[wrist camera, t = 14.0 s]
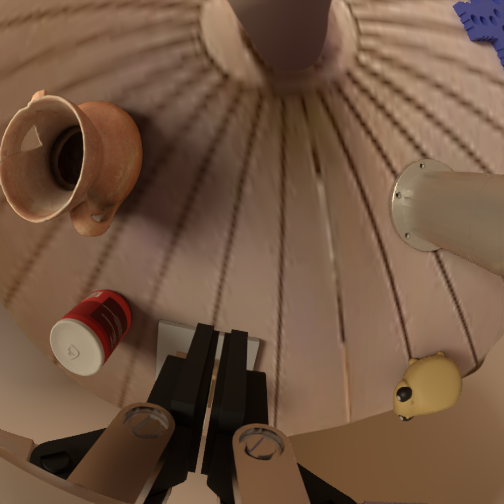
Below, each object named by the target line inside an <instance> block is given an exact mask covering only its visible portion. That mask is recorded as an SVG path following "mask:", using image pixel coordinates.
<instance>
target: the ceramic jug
mask: <svg viewBox="0 0 504 504" xmlns="http://www.w3.org/2000/svg"><path fill="white" fill-rule="evenodd" d="M46 93H47V92H46V90H42V91H39V92H37V93H35V94H34V96H33V98H32V100H31V102H29V103H28V106H27V107H25V108H23V109H21V110H19V111H18V112H17V114H16V115H15V116H14V117H13V119H12V120H11V122H10V123H9V125H8V127H7V129H6V131H5V134H4V136H3V139H2V143H1V148H0V182H1V186H2V189H3V192H4V194H5V196H6V198H7V201H8V202H9V204H10V205H11V206H12V208H13V209H14V211H15V212H16V213H18V214H19V215H20V216H21V217H22V218H24V219H26V220H28V221H31V222H36V223H40V222H45V221H48V220H51V219H54V218H56V217H58V216H60V215H61V214H63V213H64V212H66V211H67V210H69V211H70V217H71V220H72V223H73V225H74V227H75V228H76V230H77V231H78V232H79V233H80V234H82V235H84V236H89V237H91V236H92V237H95V236H99V235H102V234H104V233H105V232H106V231H107V229H108V228H109V226H110V224H111V222H112V220H113V218H114V215H115V212H116V211H117V210H118V208H119V206H120V205H121V203H122V202H123V201H124V200H125V199H126V198H127V196H128V195H129V194H130V192H131V191H132V189H133V188H134V186H135V184H136V182H137V180H138V177H139V174H140V171H141V167H142V159H143V148H142V141H141V136H140V133H139V130H138V128H137V126H136V124H135V122H134V121H133V119H132V118H131V116H130V115H129V114H128V113H127V112H126V111H124V110H123V109H121V108H120V107H118V106H117V105H115V104H112V103H109V102H104V101H92V102H87V103H84V104H81V105H78V106H77V105H75V104H74V103H72V102H71V101H69V100H67V99H65V98H63V97H60V96H54V95H47V96H46ZM34 124H35V128H36V129H35V130H36V134H37V136H38V139H39V142H40V145H38V146H37V147H34V148H32V149H29V150H24V151H21V143H22V141H23V139H24V136H25V135H26V134H27V132H28V131H29V130H30V128H31V127H32V126H33V125H34ZM102 213H103V216H102V218H101V219H100V221H99V222H98V221H95V220H94V219H93V218H92V216H91V215H98V214H102Z"/></svg>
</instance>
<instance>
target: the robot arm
mask: <svg viewBox="0 0 504 504" xmlns="http://www.w3.org/2000/svg"><path fill="white" fill-rule="evenodd" d="M420 165H421V167H420ZM396 193H397V197H396ZM389 206H390V216H391V220H392V224H393V226H394V228H395V231H396V232H397V234H398V235H399V237H400V238H401V239H402V240H403V241H404V242H405V243H406V244H408V245H409V246H411V247H413V248H415V249H417V250H421V251H434V250H438V249H440V248H443V249H445V250H447V251H449V252H451V253H453V254H456V255H458V256H460V257H462V258H464V259H466V260H468V261H470V262H472V263H474V264H476V265H478V266H480V267H482V268H484V269H486V270H488V271H490V272H492V273H494V274H497V275H500V276H504V175H500V174H488V173H473V172H454V171H453V170H452V169H451V168H449V167H448V166H447V165H446V164H444V163H442V162H440V161H437V160H434V159H423V160H418V161H415V162H412V163H411V164H409V165H408V166H406V167H405V168H404V169H403V170H402V171H401V172H400V174H399V175H398V177H397V178H396V180H395V182H394V185H393V187H392V191H391V195H390V204H389ZM405 234H406V236H405ZM219 333H220V331H215V330H214V326H211V325H206V324H201V323H198V325H197V328H196V331H195V333H194V336H193V339H192V342H191V345H190V347H189V350H188V353H187V356H186V358H181V357H177V356H172V355H167V357H166V359H165V361H164V364H163V366H162V368H161V370H160V373H159V375H158V377H157V380H156V382H155V384H154V386H153V389H152V391H151V393H150V396H149V398H148V400H147V403H143V402H139V403H133V404H130V405H128V406H126V407H124V408H123V409H122V410H121V411H120V412H119V413H118V414H117V416H116V417H115V418H114V420H113V421H112V422H111V424H110V425H109V426H108V427H107V428H104V429H100V430H96V431H92V432H88V433H84V434H80V435H76V436H72V437H67V438H62V439H58V440H53V441H48V442H45V443H42V444H40V445H38V444H35V443H34V441H33V440H32V439H29V438H25V437H22V436H19V435H15V434H12V433H10V432H7V431H4V430H1V429H0V504H166V503H167V500H168V498H169V496H170V494H171V491H172V487H173V486H176V485H178V484H180V483H182V482H184V481H185V480H186V478H187V474H188V471H189V472H194V473H195V469H196V464H197V458H198V453H199V447H200V442H201V436H202V431H203V425H204V420H205V415H206V409H207V404H208V399H209V393H210V387H211V381H212V375H213V369H214V363H215V357H216V351H217V345H218V339H219ZM247 346H248V332H244V331H238V330H233V329H232V331H231V333H226V332H225V335H224V340H223V346H222V351H221V357H220V362H219V368H218V374H217V379H216V385H215V391H214V397H213V403H212V408H211V414H210V420H209V426H208V432H207V439H206V445H205V451H204V457H203V463H202V469H201V474H205V475H208V478H207V486H208V487H209V488H210V489H211V490H212V491H213V492H214V493H215V494H217V504H360V503H356V502H355V501H354V500H353V499H351V498H350V497H349V496H346V495H345V494H344V493H342V492H340V491H339V490H337V489H336V488H334V487H332V486H331V485H329V484H328V483H326V482H325V481H323V480H322V479H320V478H319V477H317V476H316V475H314V474H313V473H311V472H310V471H308V470H307V469H306V468H304V467H303V466H301V465H300V464H298V463H297V462H296V459H295V456H294V453H293V450H292V447H291V444H290V442H289V440H288V438H287V436H286V435H285V434H284V433H283V432H281V431H280V430H278V429H276V428H275V427H272V426H269V424H268V405H267V387H266V374H265V372H258V371H251V370H247ZM362 504H426V503H395V502H374V501H364V502H363V503H362Z"/></svg>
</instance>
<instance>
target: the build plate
mask: <svg viewBox="0 0 504 504" xmlns="http://www.w3.org/2000/svg"><path fill="white" fill-rule="evenodd" d="M196 328H197V327H194V326H189V325H184V324H179V323H175V322H170V321H166V320H160V321H159V325H158V340H157V359H156V380H157V377H158V375H159V373H160V370H161V368H162V366H163V364H164V361H165V359H166V357H167V355H172V356H176V353H177V351H179V352H184V353H188V350H189V347H190V345H191V342H192V339H193V336H194V333H195V331H196ZM224 335H225V333H224V332H220V333H219V339H218V345H217V351H216V357H215V359H219V362H220V357H221V351H222V346H223V340H224ZM259 343H260V340H259V338H253V337H248V346H247V370H251V371H253V367H254V363H255V359H256V355H257V351H258V347H259ZM219 362H218V368H219ZM218 368H217V373H216V379H217V374H218ZM216 379H215V385H216ZM215 385H214V391H215ZM214 391H213V396H212V400H213V397H214Z"/></svg>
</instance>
